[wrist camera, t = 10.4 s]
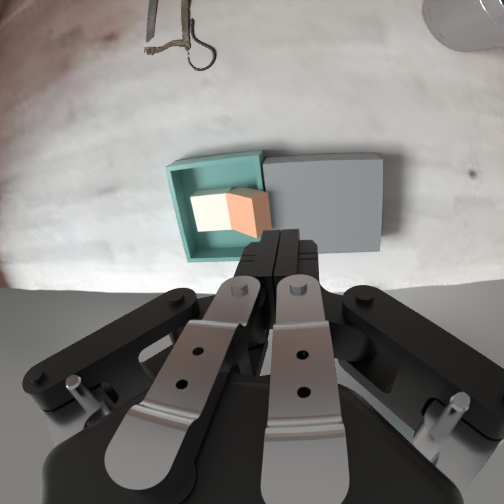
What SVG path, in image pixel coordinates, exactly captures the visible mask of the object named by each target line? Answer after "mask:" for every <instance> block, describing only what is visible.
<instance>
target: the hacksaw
mask: <svg viewBox="0 0 504 504" xmlns="http://www.w3.org/2000/svg"><path fill="white" fill-rule="evenodd" d="M189 4H190V0H182V1H181V21H182V32H183V35H182V37H183V40H174V41H171V42H169V43H167V44H166V45H164V46H162V47H157V48H156V47H144V53H145V50H146V52H147V55H153V54H154V53H159V52H161V51H163V50H165V49H167V48H169V47H171V46H179V47H185V49H187V51H188V50H189V48H191V43H190V36H189V33H190V32H189V17H190V14H189V13H190V12H189V10H188V9H189V7H190V6H189ZM156 9H157V0H149V9H148V19H147V20H148V22H147V31H146V32H147V34H146V43H147V42H149V41H150V40H151V39H152V38H153V37H154V30H155V19H156ZM190 25H191V34H192V37H193V39H194V40H195V41H196V42H197V43H199V44H201V45H202V46H205V47H207V48H209V49H210V50H211V51H212V53H213V60H212V62H211V63H210V64H209V65H208V66H207V67H205V68H202V69H199V68H196V67H194V66H193V65H192V64H191V62H190V58H189V56H188V60H189V61H188V62H189V64H190V65H191V66H192V68H194V69H195V70H197V71H204V70H206V69H209V67H211V66H212V65H213V63H214V62H215V59H216V53H215V50H214V49H213V48H212V47H210V46H209V45H207V44H205V43H202V42H201V41H199V40H198V39H196V38H195V36H194V31H193V30H194V29H193V25H194V21H193V19H191V21H190ZM188 55H189V52H188Z"/></svg>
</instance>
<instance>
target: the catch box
mask: <svg viewBox="0 0 504 504" xmlns="http://www.w3.org/2000/svg"><path fill="white" fill-rule="evenodd" d="M263 163H264V158H263V150H258V151H248V152H238V153H229V154H221V155H213V156H205V157H198V158H191V159H184V160H178V161H175V162H173V163H171V164H170V165H168V166H166V167H165V169H166V173H167V178H168V183H169V187H170V192H171V196H172V200H173V205H174V209H175V213H176V218H177V222H178V226H179V230H180V234H181V238H182V242H183V246H184V250H185V254H186V257H187V261H188V262H218V261H240V258H241V256H242V253H243V250H244V248H245V247H246V246H247V245H249V244H250V243H251V242H260V239H261V237H259V238H254V237H252V236H249V235H246V234H244V233H241V232H238V231H236V230H216V231H200V232H198V230H197V226H196V221H195V217H194V212H193V208H192V203H191V198H190V197H191V196H192V195H193V194H194V193H195V192H196V191H199V190H209V189H219V188H229V187H232V190H233V189H236V188H238V187H245V188H250V189H255V190H260V191H265V192H266V188H265V180H264V172H263Z"/></svg>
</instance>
